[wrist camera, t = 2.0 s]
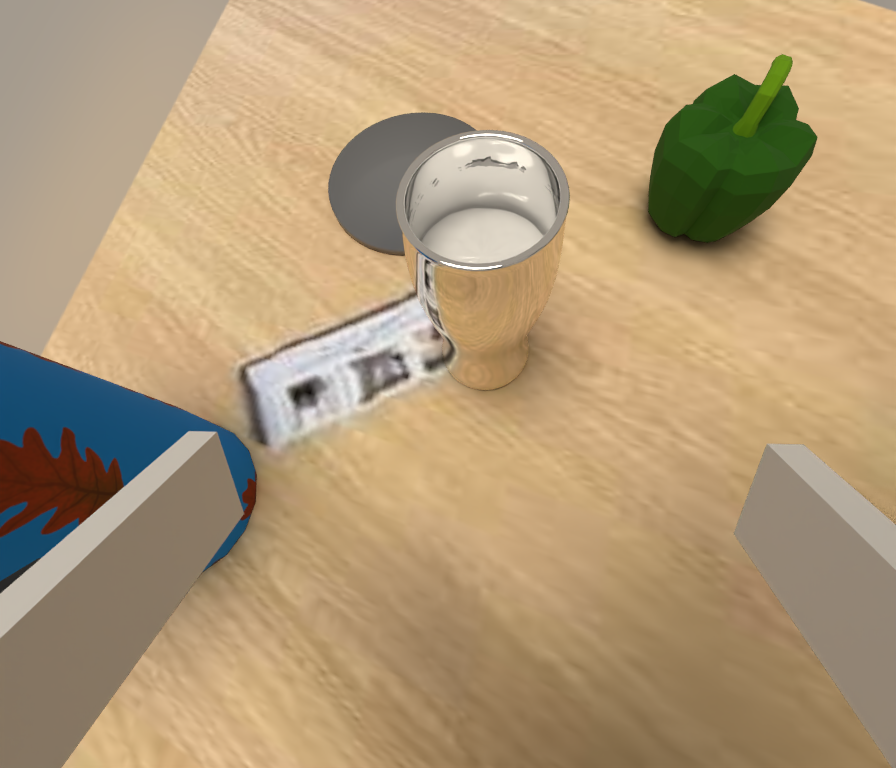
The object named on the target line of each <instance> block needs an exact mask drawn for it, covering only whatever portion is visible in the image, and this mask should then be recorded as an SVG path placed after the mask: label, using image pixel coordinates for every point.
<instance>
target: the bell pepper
mask: <svg viewBox="0 0 896 768" xmlns="http://www.w3.org/2000/svg"><path fill="white" fill-rule="evenodd" d="M792 63H793V61H792V58H791V57H789V56H786V55H783V54H782V55H780V56H778V57H776V58H775V60H774V61H773V62H772V66H771V68H770V70H769V72H768V74H767V76H766V78H765V79H764V81H763V83H762V85H754V84H752V83H750V82H748V81H746V80H745V79H743V78H741V77H739V76H737V75H735V74H734V75H732V76H730V77H728V78H727V79H725V80H723V81H721V82H719V83H717V84H715V85H714V86H712V87H710V88H708V89H706V90H705V91H704V92H703V93H702V94H701V95H700V96H699V97H698V98H697V99H695V100H694V102H693V104H691V105H686V106H685V107H684V108H683V109H681V110H680V111H679V112H678V113H677V114H676V115H675V116H674V117H672V119H671V120H670V121H669V122H668V123H667V124H666V125H665V128H664V130H663V132H662V135H661V137H660V140H659V142H658V144H657V147H656V149H655V153H654V158H653V164H652V169H651V175H650V184H649V202H648V212H649V214H650V215H651V217H652V219H653V220H654V221H655V223H656V224H657V225H658V227H659V228H660V229H661V231H663V232H665V233H667V234H669V235H671V236H673V237H677V236H679V235H682V234H685V235H687V236H688V237H689V238H690V239H691V240H696V241H701V242H706V243H708V242H713V241H717V240H719V239H721V238H723V237H725V236H727V235H729V234H731V233H733V232H735V231H736V230H738V229H740V228H741V227H743V226H745V225H746V224H748V223H749V222H751V221H752V220H754V219H755V218H756V217H758V216H759V215H761V214H762V213H764V212H765V211H766V210H768V209H769V208H770V207H771V206H772V205H773V204H774V203H775V202H776V201H777V200H778V199H779V198H780V197H781V196H782V195H783V193H784V192H785V191H786V190H787V189H788V188H789V187H790V186H791V185H792V183H793V182H794V180H795V179H796V177H797V176H798V175H799V173H800V172H801V170H802V169H803V167H804V166H805V165H806V163H807V162H808V160H809V159H810V157H811V156H812V154H813V150H814V147H815V144H816V140H817V136H816V134H815V133H814V132H813V130H812V129H811V127H810V126H809V125H808V124H806V123H803V122H800V121H797V120H796V117H797V113H798V110H799V108H798V106H797V104H796V101H795V99H794V97H793V95H792V92H791V90H790V88H789V86H782V85H783V83H784V82H785V80H786V78H787V76H788V74H789V72H790V70H791V67H792Z"/></svg>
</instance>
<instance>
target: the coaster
mask: <svg viewBox="0 0 896 768" xmlns="http://www.w3.org/2000/svg"><path fill="white" fill-rule="evenodd" d="M470 131H477V130H475V129H474V128H473V127H471V126H470V125H468V124H466V123H464V122H463V121H461V120H458V119H456V118H453V117H450V116H446V115H442V114H436V113H410V114H403V115H399V116H394V117H391V118H388V119H385V120H382V121H380V122H378V123H376V124H374V125H372V126H370V127H368V128H367V129H365V130H364V131H362V132H361V133H359V134H358V135H357V136H356V137H354V138H353V139H352V140H351V141H350V142H349V143H348V144H347V145H346V146H345V148H344V149H343V150H342V151H341V153H340V154H339V156H338V157H337V159H336V161H335V163H334V165H333V168H332V171H331V174H330V178H329V188H328V193H329V200H330V203H331V207H332V210H333V212H334V214H335V216H336V217H337V219H338V221H339V223H340V225H341V226H342V227H343V229H344V230H345V231H346V232H347V233H348V234H349V235H350V236H351V237H352V238H353V239H354V240H356V241H357V242H359V243H360V244H362V245H364V246H366V247H368V248H370V249H373V250H375V251H378V252H382V253H386V254H392V255H405V252H404V247H403V241H402V235H401V229H400V225H399V222H398V219H397V214H396V197H397V191H398V188H399V185H400V182H401V180H402V178H403V176H404V174H405V172H406V171H407V169H408V168H409V166H410V165H411V164H412V163H413V161H414V160H415V159H416V158H417V157H418V156H419V155H420V154H422V153H423V152H424V151H425V150H427V149H428V148H429V147H431V146H433V145H434V144H436V143H438V142H440V141H442V140H444V139H446V138H448V137H451V136H454V135H457V134H461V133H465V132H470Z"/></svg>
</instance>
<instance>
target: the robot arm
mask: <svg viewBox="0 0 896 768" xmlns="http://www.w3.org/2000/svg"><path fill="white" fill-rule="evenodd" d="M243 515H244V512H243V509H242V506H241V503H240V500H239V497H238V494H237V491H236V488H235V484H234V481H233V478H232V475H231V472H230V469H229V466H228V463H227V460H226V457H225V454H224V451H223V448H222V445H221V442H220V439H219V436H218V433H217V432H205V431H188V432H187V433H186V434H185V435H184V436H183V437H181V438H180V439H179V440H178V441H177V442H176V443H175V444H173V445H172V446H171V447H170V448H169V449H168V450H166V451H165V452H164V453H163V454H162V455H161V456H159V457H158V458H157V459H156V460H155V461H154V462H152V463H151V464H150V465H149V466H148V467H147V468H145V469H144V470H143V471H142V472H141V473H140V474H139V475H137V476H136V477H135V478H134V479H133V480H132V481H130V482H129V483H128V484H127V485H126V486H125V487H123V488H122V489H121V490H120V491H119V492H118V493H116V494H115V495H114V496H113V497H112V498H111V499H110V500H108V501H107V502H106V503H105V504H104V505H103V506H101V507H100V508H99V509H98V510H97V511H96V512H94V513H93V514H92V515H91V516H90V517H89V518H87V519H86V520H85V521H84V522H83V523H82V524H80V525H79V526H78V527H77V528H76V529H75V530H74V531H72V532H71V533H70V534H69V535H68V536H67V537H65V538H64V539H63V540H62V541H61V542H60V543H58V544H57V545H56V546H55V547H54V548H53V549H51V550H50V551H49V552H48V553H47V554H46V555H44V556H43V557H42V558H38V559H36V560H34V561H33V562H31V563H29V564H28V565H26V566H25V567H23V568H21V569H20V570H18V571H16V572H15V573H13V574H11V575H10V576H8V577H6V578H5V579H3V580H1V581H0V768H62V766H63V765H64V764H65V762H66V761H67V759H68V758H69V757H70V755H71V754H72V752H73V751H74V750H75V748H76V747H77V746H78V744H79V743H80V741H81V740H82V739H83V737H84V736H85V734H86V733H87V732H88V730H89V729H90V727H91V726H92V725H93V723H94V722H95V720H96V719H97V718H98V716H99V715H100V714H101V712H102V711H103V709H104V708H105V707H106V705H107V704H108V702H109V701H110V700H111V698H112V697H113V695H114V694H115V693H116V691H117V690H118V688H119V687H120V686H121V684H122V683H123V682H124V680H125V679H126V677H127V676H128V675H129V673H130V672H131V670H132V669H133V668H134V666H135V665H136V663H137V662H138V661H139V659H140V658H141V656H142V655H143V654H144V652H145V651H146V650H147V648H148V647H149V645H150V644H151V643H152V641H153V640H154V638H155V637H156V636H157V634H158V633H159V631H160V630H161V629H162V627H163V626H164V624H165V623H166V622H167V620H168V619H169V617H170V616H171V615H172V613H173V612H174V611H175V609H176V608H177V606H178V605H179V604H180V602H181V601H182V599H183V598H184V597H185V595H186V594H187V592H188V591H189V590H190V588H191V587H192V585H193V584H194V583H195V581H196V580H197V579H198V577H199V576H200V574H201V573H202V572H203V570H204V569H205V567H206V566H207V565H208V563H209V562H210V560H211V559H212V558H213V556H214V555H215V553H216V552H217V551H218V549H219V548H220V547H221V545H222V544H223V542H224V541H225V540H226V538H227V537H228V535H229V534H230V533H231V531H232V530H233V528H234V527H235V526H236V524H237V523H238V521H239V520H240V519H241V517H242V516H243ZM734 535H735V536H736V538H737V539H738V541H739V542H740V544H741V545H742V547H743V548H744V550H745V551H746V553H747V554H748V556H749V557H750V559H751V560H752V561H753V563H754V564H755V566H756V567H757V569H758V570H759V572H760V573H761V575H762V576H763V578H764V579H765V581H766V582H767V584H768V585H769V587H770V588H771V590H772V591H773V593H774V594H775V596H776V597H777V598H778V600H779V601H780V603H781V604H782V606H783V607H784V609H785V610H786V612H787V613H788V615H789V616H790V618H791V619H792V621H793V622H794V624H795V625H796V627H797V628H798V630H799V631H800V633H801V634H802V635H803V637H804V638H805V640H806V641H807V643H808V644H809V646H810V647H811V649H812V650H813V652H814V653H815V655H816V656H817V658H818V659H819V661H820V662H821V664H822V665H823V667H824V668H825V670H826V671H827V672H828V674H829V675H830V677H831V678H832V680H833V681H834V683H835V684H836V686H837V687H838V689H839V690H840V692H841V693H842V695H843V696H844V698H845V699H846V701H847V702H848V704H849V705H850V707H851V708H852V709H853V711H854V712H855V714H856V715H857V717H858V718H859V720H860V721H861V723H862V724H863V726H864V727H865V729H866V730H867V732H868V733H869V735H870V736H871V738H872V739H873V741H874V742H875V744H876V745H877V746H878V748H879V749H880V751H881V752H882V754H883V755H884V757H885V758H886V760H887V761H888V763H889V764H890V766H891V767H892V768H896V525H895V524H894V523H893V522H892V521H891V520H890V519H889V518H887V517H886V516H885V515H884V514H883V513H882V512H880V511H879V510H878V509H877V508H876V507H875V506H874V505H872V504H871V503H870V502H869V501H868V500H867V499H865V498H864V497H863V496H862V495H861V494H860V493H859V492H857V491H856V490H855V489H854V488H853V487H852V486H851V485H849V484H848V483H847V482H846V481H845V480H844V479H842V478H841V477H840V476H839V475H838V474H837V473H836V472H834V471H833V470H832V469H831V468H830V467H829V466H827V465H826V464H825V463H824V462H823V461H822V460H821V459H819V458H818V457H817V456H816V455H815V454H814V453H812V452H811V451H810V450H809V449H808V448H807V447H806V446H804V445H801V444H767V445H766V447H765V450H764V453H763V455H762V458H761V461H760V464H759V466H758V469H757V472H756V474H755V477H754V480H753V483H752V485H751V488H750V491H749V493H748V496H747V499H746V501H745V504H744V507H743V510H742V512H741V515H740V518H739V520H738V523H737V526H736V529H735V531H734Z"/></svg>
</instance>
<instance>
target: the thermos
mask: <svg viewBox="0 0 896 768" xmlns="http://www.w3.org/2000/svg"><path fill="white" fill-rule="evenodd" d="M188 431H205V432H217V433H218V436H219V439H220V442H221V445H222V448H223V451H224V454H225V457H226V460H227V463H228V466H229V469H230V472H231V475H232V478H233V481H234V484H235V488H236V491H237V494H238V497H239V500H240V503H241V506H242V509H243V512H244V515H243V516H242V517H241V519H240V520H239V521H238V523H237V524H236V526H235V527H234V528H233V530H232V531H231V533H230V534H229V535H228V537H227V538H226V540H225V541H224V542H223V544H222V545H221V547H220V548H219V549H218V551H217V552H216V553H215V555H214V556H213V558H212V559H211V560H210V562H209V563H208V565H207V566H206V567H205V569H204V570H203V571H205V570H206V569H207V568H209V567H210V566H212V565H213V564H214V563H216V562H217V561H219V560H220V559H221V558H223V557H224V556H225V555H227V553H228V552H229V551H230V549H231V548H232V547H233V545H234V544H235V543H236V542H237V540H238V539H239V538H240V536H241V535H242V534H243V532H244V531H245V529H246V526H247V524H248V521H249V518H250V515H251V513H252V510H253V507H254V505H255V498H256V472H255V469H254V465H253V462H252V459H251V456H250V453H249V451H248V449H247V448H246V447H245V446H244V445H243V444H242V442H241V441H240V440H239V439H238V438H237V436H236V435H235V434H234V433H232V432H230V431H228V430H225V429H223V428H221V427H219V426H217V425H215V424H213V423H211V422H209V421H206V420H204V419H202V418H200V417H198V416H196V415H193V414H191V413H189V412H187V411H185V410H183V409H181V408H178V407H176V406H173V405H170V404H168V403H165V402H162V401H160V400H157V399H154V398H152V397H149V396H146V395H144V394H141V393H138V392H135V391H133V390H130V389H127V388H125V387H122V386H119V385H117V384H114V383H111V382H109V381H106V380H103V379H100V378H98V377H95V376H92V375H90V374H87V373H84V372H82V371H79V370H76V369H74V368H71V367H68V366H65V365H63V364H60V363H57V362H55V361H52V360H49V359H47V358H44V357H41V356H39V355H35V354H33V353H30V352H28V351H25V350H22V349H20V348H17V347H14V346H12V345H9V344H6V343H3V342H1V341H0V581H1V580H3V579H5V578H6V577H8V576H10V575H11V574H13V573H15V572H16V571H18V570H20V569H21V568H23V567H25V566H26V565H28V564H29V563H31V562H33V561H34V560H36V559H38V558H42V557H43V556H44V555H46V554H47V553H48V552H49V551H50V550H51V549H53V548H54V547H55V546H56V545H57V544H58V543H60V542H61V541H62V540H63V539H64V538H65V537H67V536H68V535H69V534H70V533H71V532H72V531H74V530H75V529H76V528H77V527H78V526H79V525H80V524H82V523H83V522H84V521H85V520H86V519H87V518H89V517H90V516H91V515H92V514H93V513H94V512H96V511H97V510H98V509H99V508H100V507H101V506H103V505H104V504H105V503H106V502H107V501H108V500H110V499H111V498H112V497H113V496H114V495H115V494H116V493H118V492H119V491H120V490H121V489H122V488H123V487H125V486H126V485H127V484H128V483H129V482H130V481H132V480H133V479H134V478H135V477H136V476H137V475H139V474H140V473H141V472H142V471H143V470H144V469H145V468H147V467H148V466H149V465H150V464H151V463H152V462H154V461H155V460H156V459H157V458H158V457H159V456H161V455H162V454H163V453H164V452H165V451H166V450H168V449H169V448H170V447H171V446H172V445H173V444H175V443H176V442H177V441H178V440H179V439H180V438H181V437H183V436H184V435H185V434H186V433H187V432H188Z"/></svg>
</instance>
